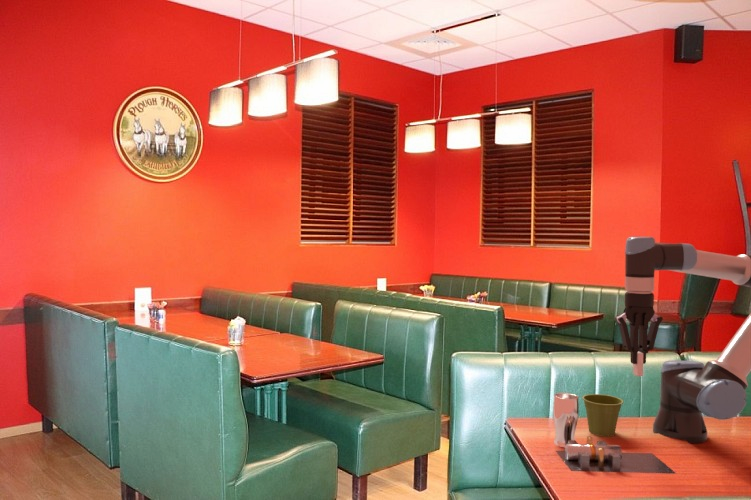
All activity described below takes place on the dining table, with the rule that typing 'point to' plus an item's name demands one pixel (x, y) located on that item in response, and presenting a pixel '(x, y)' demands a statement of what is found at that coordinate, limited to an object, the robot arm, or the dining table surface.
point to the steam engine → (615, 461)
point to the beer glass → (565, 417)
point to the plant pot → (602, 413)
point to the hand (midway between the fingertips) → (638, 375)
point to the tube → (590, 451)
